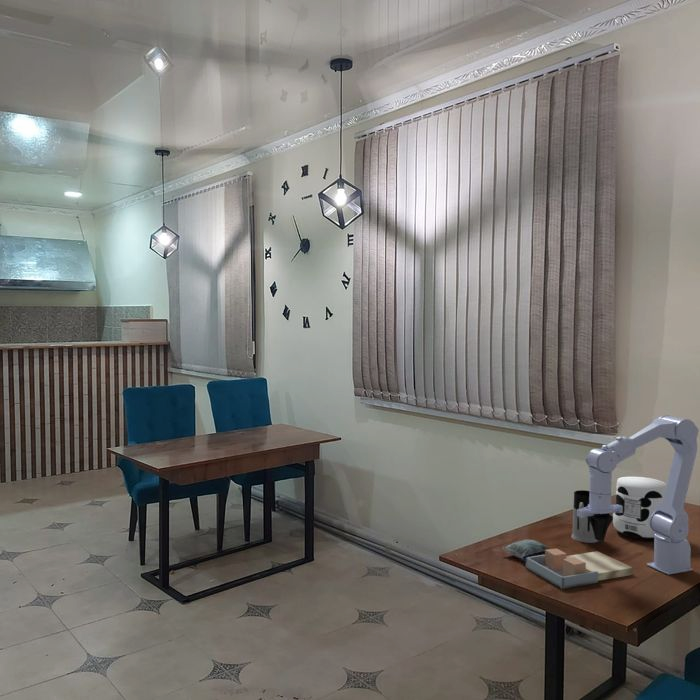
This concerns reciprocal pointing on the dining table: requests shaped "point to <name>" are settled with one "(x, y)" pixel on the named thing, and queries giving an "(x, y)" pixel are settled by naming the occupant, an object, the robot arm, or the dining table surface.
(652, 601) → the dining table surface
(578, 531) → the glass holder
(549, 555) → the wooden cube
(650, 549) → the dining table surface
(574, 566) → the wooden cube
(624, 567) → the board
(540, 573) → the tray
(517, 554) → the grey green pillow
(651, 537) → the milk container
